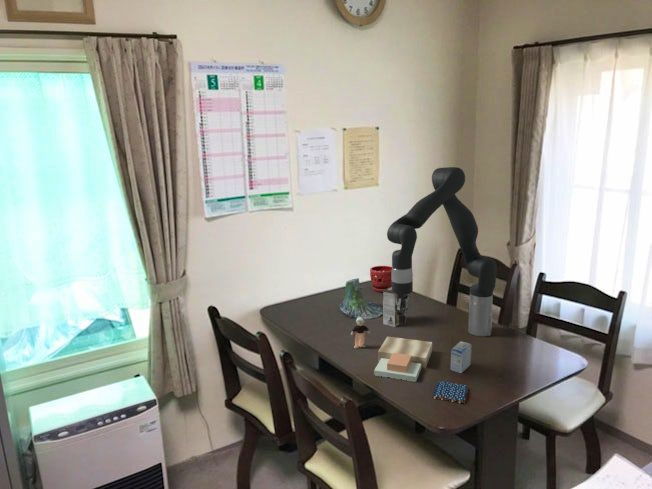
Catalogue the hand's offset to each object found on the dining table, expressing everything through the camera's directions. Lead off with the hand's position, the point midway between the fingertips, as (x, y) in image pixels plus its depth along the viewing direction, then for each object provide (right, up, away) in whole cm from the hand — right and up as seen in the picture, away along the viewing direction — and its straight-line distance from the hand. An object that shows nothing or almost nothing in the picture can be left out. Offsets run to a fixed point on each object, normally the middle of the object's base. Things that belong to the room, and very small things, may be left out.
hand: (402, 324), depth 181 cm
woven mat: (+14, -21, -17) cm, 30 cm away
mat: (-2, -17, -2) cm, 17 cm away
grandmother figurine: (-14, -12, +19) cm, 27 cm away
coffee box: (+3, -6, +42) cm, 43 cm away
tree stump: (-11, -3, +56) cm, 57 cm away
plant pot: (+3, +5, +86) cm, 86 cm away
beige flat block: (+3, -14, +10) cm, 17 cm away
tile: (-1, -15, -2) cm, 15 cm away
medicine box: (+21, -16, 0) cm, 27 cm away
